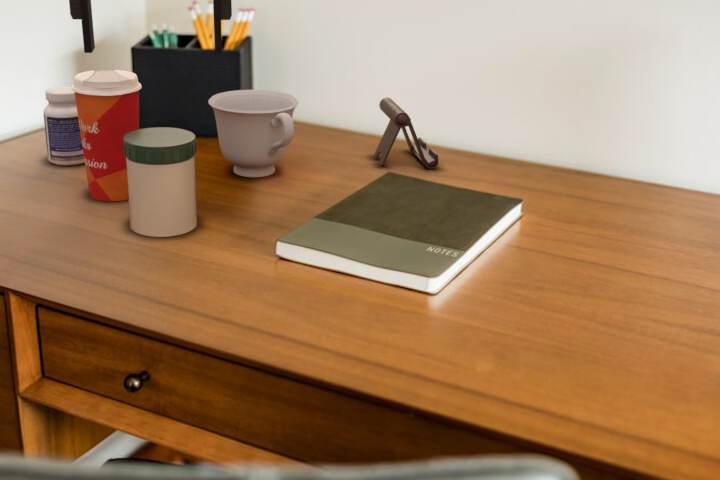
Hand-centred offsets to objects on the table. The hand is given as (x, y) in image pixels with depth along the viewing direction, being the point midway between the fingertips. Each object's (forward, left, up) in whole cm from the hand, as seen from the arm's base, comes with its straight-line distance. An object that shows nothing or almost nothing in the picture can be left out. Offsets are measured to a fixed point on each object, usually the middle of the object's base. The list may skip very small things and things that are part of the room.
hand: (154, 50), depth 97 cm
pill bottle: (-14, +25, -20) cm, 35 cm away
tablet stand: (+33, +23, -20) cm, 45 cm away
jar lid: (0, 0, -10) cm, 10 cm away
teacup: (+12, +18, -20) cm, 29 cm away
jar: (0, 0, -20) cm, 20 cm away
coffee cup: (-7, +11, -20) cm, 24 cm away
